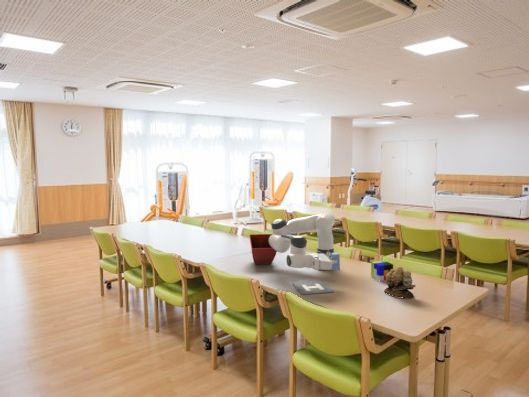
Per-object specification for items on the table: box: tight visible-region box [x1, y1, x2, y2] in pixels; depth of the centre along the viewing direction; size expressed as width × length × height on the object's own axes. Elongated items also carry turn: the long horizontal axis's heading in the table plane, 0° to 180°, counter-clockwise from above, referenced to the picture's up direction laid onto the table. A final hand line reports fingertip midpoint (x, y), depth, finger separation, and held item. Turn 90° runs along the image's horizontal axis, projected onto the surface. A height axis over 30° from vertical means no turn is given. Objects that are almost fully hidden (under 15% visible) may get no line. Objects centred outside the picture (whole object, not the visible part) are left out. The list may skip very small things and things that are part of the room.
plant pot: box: [249, 233, 278, 265], centre depth 293 cm, size 19×19×17 cm
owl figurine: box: [383, 265, 417, 299], centre depth 225 cm, size 18×12×17 cm, turn 46°
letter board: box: [292, 280, 335, 296], centre depth 238 cm, size 20×20×1 cm
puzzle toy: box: [370, 260, 394, 281], centre depth 255 cm, size 10×10×10 cm
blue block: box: [331, 252, 341, 271], centre depth 240 cm, size 4×4×10 cm
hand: (335, 260), depth 240 cm, fingers closed on blue block, 4 cm apart
